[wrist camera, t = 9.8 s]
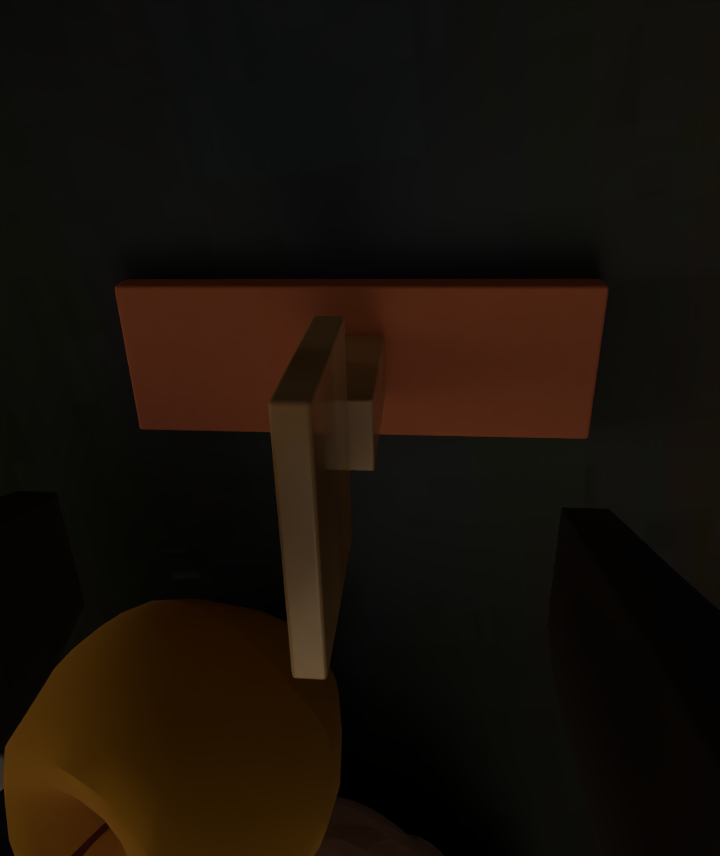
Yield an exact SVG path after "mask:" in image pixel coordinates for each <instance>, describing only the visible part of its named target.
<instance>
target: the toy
mask: <svg viewBox="0 0 720 856" xmlns="http://www.w3.org/2000/svg"><path fill="white" fill-rule="evenodd" d="M314 856H444V855H443V854H442V853H441V852H440V851H439V850H438V849H437V848H436V847H435V846H434V845H433V844H431V843H430V842H428V841H426V840H425V839H423V838H421V837H420V836H415V835H409V834H406V833H405V832H404V831H403V830H402V829H401V828H400V827H398V826H397V825H396V824H394V823H393V822H391V821H390V820H389V819H387V818H386V817H385V816H383V815H381V814H379V813H377V812H376V811H375V810H373V809H372V808H370V807H368V806H365V805H363V804H360V803H358V802H355V801H353V800H350V799H346V798H341V797H336V800H335V804H334V807H333V810H332V814H331V817H330V820H329V824H328V827H327V830H326V832H325V835H324V837H323V840H322V842H321V845H320V848H319V849H318V850H317V852H316V853H315V855H314Z"/></svg>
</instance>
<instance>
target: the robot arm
mask: <svg viewBox="0 0 720 856" xmlns="http://www.w3.org/2000/svg"><path fill="white" fill-rule="evenodd" d="M83 606H84V599H83V596H82V592H81V588H80V584H79V580H78V576H77V572H76V568H75V564H74V560H73V557H72V553H71V549H70V545H69V541H68V537H67V533H66V529H65V525H64V522H63V518H62V514H61V510H60V506H59V502H58V498H57V494H56V492H28V491H16V492H13V493H10V494H7V495H5V496H2V497H0V754H1V752H2V750H3V749H4V747H5V746H6V744H7V743H8V741H9V740H10V738H11V736H12V735H13V733H14V732H15V730H16V729H17V727H18V726H19V724H20V722H21V721H22V719H23V718H24V716H25V715H26V713H27V711H28V710H29V708H30V707H31V705H32V703H33V702H34V700H35V699H36V697H37V695H38V694H39V692H40V691H41V689H42V688H43V686H44V684H45V683H46V681H47V680H48V678H49V676H50V675H51V673H52V671H53V670H54V668H55V666H56V665H57V663H58V660H59V658H60V656H61V654H62V652H63V650H64V648H65V646H66V644H67V642H68V640H69V638H70V636H71V633H72V631H73V629H74V626H75V624H76V622H77V619H78V617H79V615H80V613H81V610H82V608H83ZM547 626H548V634H549V642H550V649H551V657H552V664H553V671H554V678H555V685H556V692H557V696H558V700H559V704H560V708H561V712H562V716H563V720H564V723H565V727H566V731H567V735H568V739H569V743H570V746H571V750H572V754H573V758H574V761H575V765H576V769H577V773H578V776H579V780H580V784H581V788H582V791H583V795H584V799H585V803H586V806H587V810H588V814H589V818H590V821H591V825H592V829H593V833H594V836H595V840H596V844H597V848H598V851H599V855H600V856H720V610H718V609H717V608H716V607H715V606H714V605H713V604H712V603H710V602H709V601H708V600H707V599H706V598H705V597H704V596H702V595H701V594H700V593H699V592H698V591H697V590H696V589H695V588H693V587H692V586H691V585H690V584H689V583H688V582H687V581H686V580H684V579H683V578H682V577H681V576H680V575H679V574H678V573H677V572H676V571H675V570H673V569H672V568H671V567H670V566H669V565H668V564H667V563H666V562H665V561H664V560H663V559H662V558H661V557H659V556H658V555H657V554H656V553H655V552H654V551H653V550H652V549H651V548H650V547H649V546H648V545H647V544H646V543H645V542H644V541H642V540H641V539H640V538H639V537H638V536H637V535H636V534H635V533H634V532H633V531H632V530H631V529H630V528H629V527H628V526H627V525H626V524H624V523H623V522H622V521H621V520H620V519H619V518H618V517H617V516H616V515H615V514H613V513H612V512H611V511H610V510H609V509H592V508H562V510H561V518H560V526H559V534H558V543H557V551H556V559H555V567H554V575H553V583H552V591H551V599H550V607H549V615H548V623H547Z"/></svg>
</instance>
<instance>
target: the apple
mask: <svg viewBox="0 0 720 856" xmlns="http://www.w3.org/2000/svg"><path fill="white" fill-rule="evenodd" d="M341 747H342V726H341V714H340V702H339V692H338V687H337V682H336V678H335V676H334V674H333V672H332V670H331V669H330V667H329V672H328V676H327V678H326V679H323V680H321V679H303V678H294V677H293V675H292V669H291V658H290V647H289V635H288V624H287V622H286V621H284V620H281V619H279V618H277V617H274V616H272V615H270V614H268V613H265V612H263V611H261V610H256V609H251V608H245V607H240V606H235V605H230V604H224V603H219V602H214V601H209V600H204V599H172V600H156V601H150V602H148V603H145V604H143V605H140V606H138V607H135V608H133V609H130V610H128V611H125V612H123V613H121V614H119V615H118V616H116V617H115V618H113V619H112V620H110V621H108V622H107V623H105V624H104V625H102V626H101V627H99V628H98V629H97V630H96V631H94V632H93V633H92V634H91V635H89V636H88V637H87V638H86V639H84V640H83V641H82V642H81V643H79V644H78V645H77V646H76V647H74V648H73V649H72V650H71V651H70V653H69V654H68V655H67V656H66V657H65V658H64V659H63V660H62V661H61V662H60V663H59V664H58V665H57V666H56V668H55V669H54V670H53V671H52V673H51V675H50V676H49V678H48V680H47V681H46V683H45V684H44V686H43V688H42V689H41V691H40V692H39V694H38V695H37V697H36V699H35V700H34V702H33V703H32V705H31V707H30V708H29V710H28V711H27V713H26V715H25V716H24V718H23V719H22V721H21V722H20V724H19V726H18V727H17V729H16V730H15V732H14V733H13V735H12V736H11V738H10V740H9V741H8V743H7V744H6V746H5V756H4V776H3V783H4V795H5V806H6V816H7V825H8V834H9V841H10V844H11V847H12V850H13V853H14V856H314V855H315V853H316V852H317V850H318V849H319V848H320V845H321V842H322V840H323V837H324V835H325V832H326V830H327V827H328V824H329V820H330V817H331V814H332V810H333V807H334V804H335V800H336V797H337V794H338V790H339V787H340V774H341Z"/></svg>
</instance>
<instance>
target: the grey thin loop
mask: <svg viewBox="0 0 720 856" xmlns="http://www.w3.org/2000/svg"><path fill="white" fill-rule="evenodd" d="M4 756H5V753H4V752H1V754H0V791H1V790H2V789H3V788H4V783H3V776H4Z"/></svg>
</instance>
